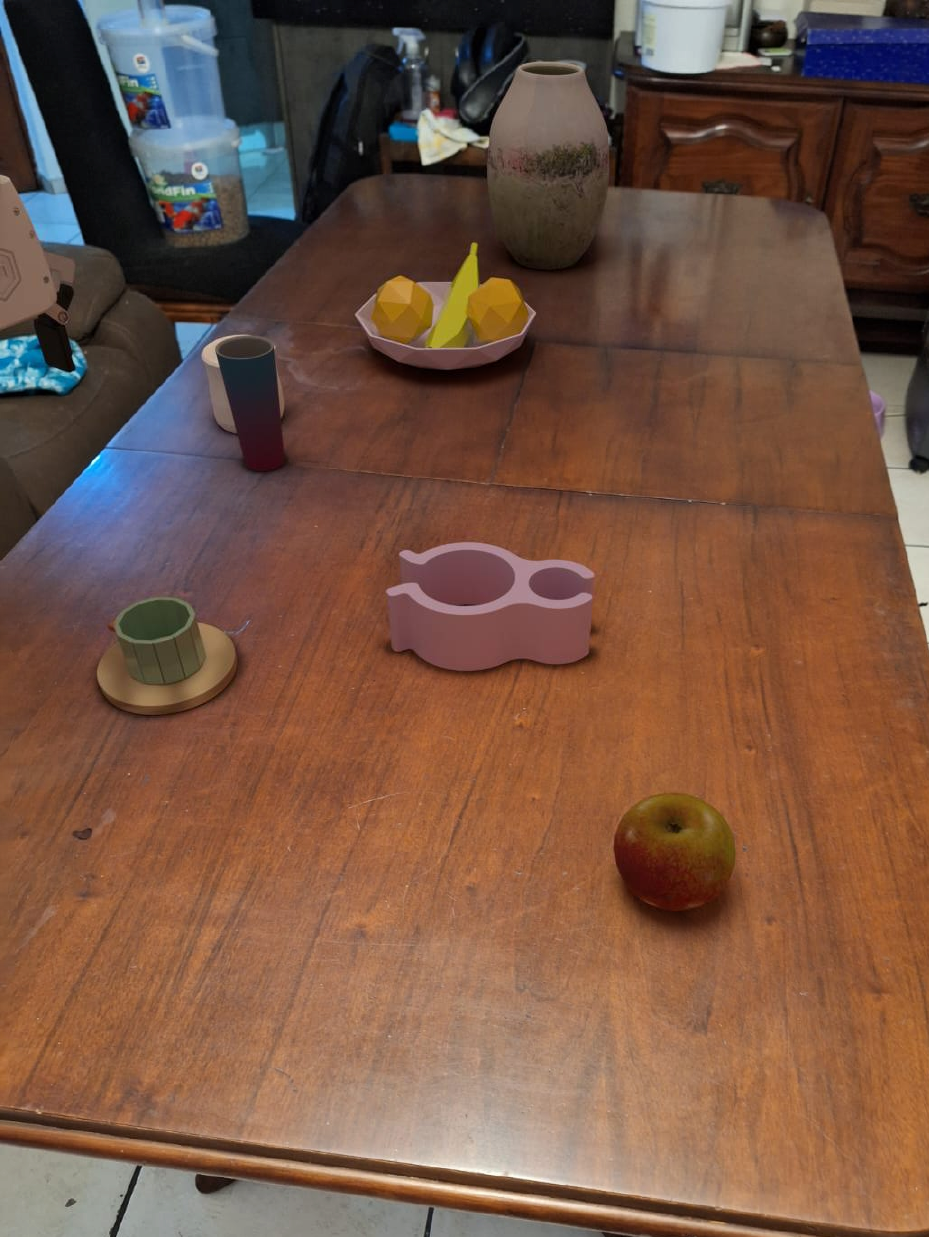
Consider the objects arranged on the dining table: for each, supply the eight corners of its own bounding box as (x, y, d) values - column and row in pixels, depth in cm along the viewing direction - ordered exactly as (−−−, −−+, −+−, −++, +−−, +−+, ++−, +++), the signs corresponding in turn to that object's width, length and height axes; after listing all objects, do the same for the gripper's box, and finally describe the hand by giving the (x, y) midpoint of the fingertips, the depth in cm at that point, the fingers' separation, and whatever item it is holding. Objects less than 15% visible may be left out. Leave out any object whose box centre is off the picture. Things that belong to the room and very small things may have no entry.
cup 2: (267, 480, 127) (246, 363, 117) (226, 465, 130) (202, 350, 120) (303, 457, 132) (285, 343, 122) (262, 443, 134) (242, 330, 124)
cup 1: (281, 398, 144) (270, 330, 137) (291, 431, 137) (280, 360, 130) (212, 406, 142) (197, 337, 135) (218, 440, 135) (203, 368, 128)
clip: (593, 605, 110) (596, 550, 105) (586, 680, 101) (589, 624, 96) (409, 592, 111) (404, 537, 106) (386, 665, 102) (379, 609, 97)
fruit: (589, 893, 81) (594, 827, 76) (641, 821, 87) (650, 755, 82) (698, 948, 78) (712, 882, 72) (745, 869, 84) (761, 803, 78)
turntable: (123, 733, 94) (120, 723, 93) (83, 657, 101) (80, 647, 101) (258, 684, 99) (255, 674, 98) (209, 615, 107) (207, 606, 106)
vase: (620, 250, 192) (634, 63, 171) (577, 287, 178) (585, 88, 157) (518, 232, 198) (519, 50, 178) (468, 267, 184) (462, 73, 163)
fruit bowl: (472, 405, 144) (470, 325, 136) (324, 359, 154) (314, 282, 146) (573, 339, 161) (576, 264, 154) (434, 301, 171) (430, 230, 164)
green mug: (220, 653, 100) (210, 612, 97) (164, 694, 96) (152, 652, 92) (149, 619, 104) (136, 579, 101) (92, 656, 100) (77, 615, 96)
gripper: (-141, 205, 68) (-48, 440, 80) (69, 150, 79) (125, 363, 91) (-206, 185, 71) (-107, 415, 83) (6, 134, 82) (67, 343, 94)
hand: (14, 388), depth 87 cm, fingers open, 9 cm apart
